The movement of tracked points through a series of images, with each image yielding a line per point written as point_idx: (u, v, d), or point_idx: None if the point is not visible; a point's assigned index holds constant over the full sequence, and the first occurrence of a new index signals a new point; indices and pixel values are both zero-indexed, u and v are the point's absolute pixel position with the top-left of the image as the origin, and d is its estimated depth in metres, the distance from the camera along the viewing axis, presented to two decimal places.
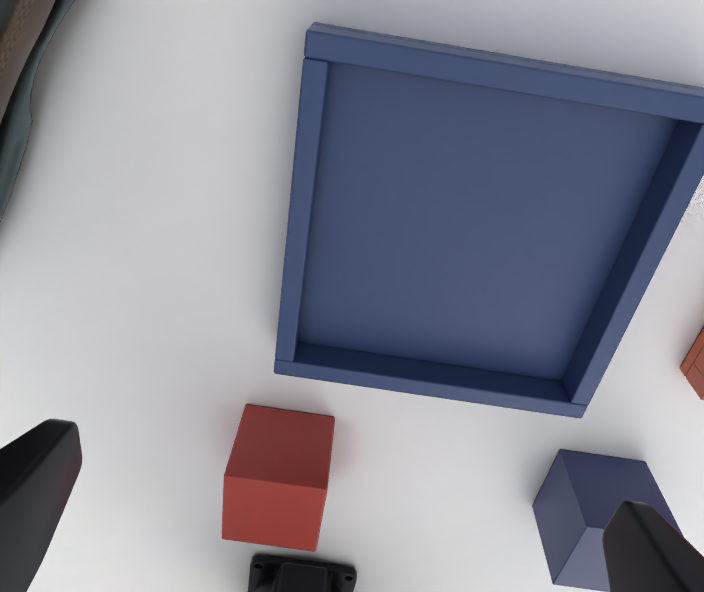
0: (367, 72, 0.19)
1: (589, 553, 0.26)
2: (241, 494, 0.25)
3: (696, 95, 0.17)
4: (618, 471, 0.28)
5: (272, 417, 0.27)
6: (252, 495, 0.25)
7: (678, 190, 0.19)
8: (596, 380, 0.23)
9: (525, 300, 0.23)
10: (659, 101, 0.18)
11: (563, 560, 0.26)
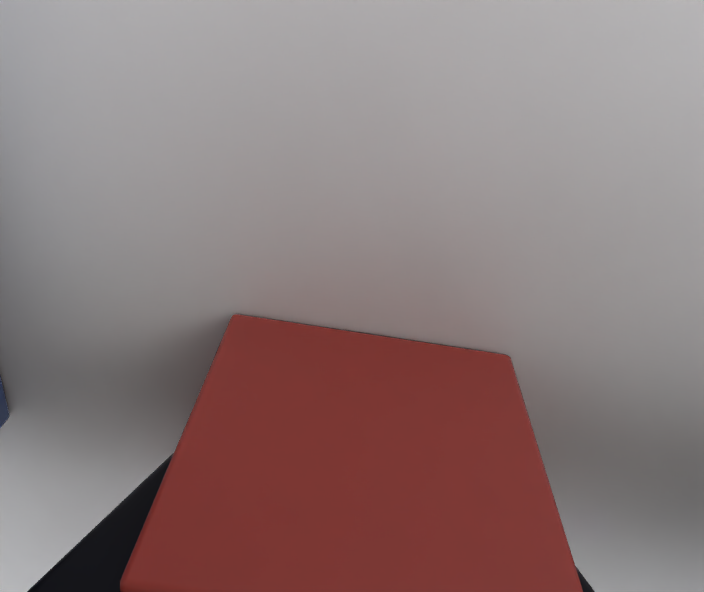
0: None
1: None
2: None
3: None
4: None
5: None
6: None
7: None
8: None
9: None
10: None
11: None
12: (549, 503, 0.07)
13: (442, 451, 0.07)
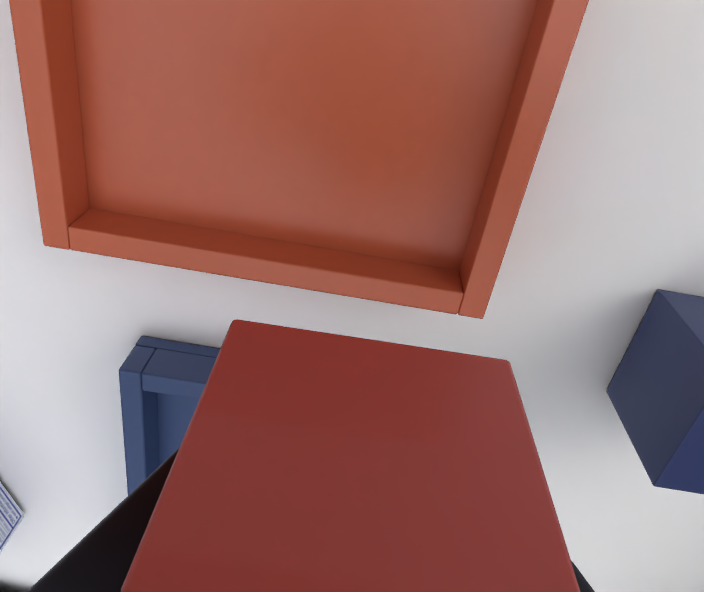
0: None
1: None
2: None
3: None
4: (645, 348, 0.19)
5: None
6: None
7: None
8: None
9: None
10: (131, 422, 0.21)
11: None
12: (548, 510, 0.07)
13: (441, 457, 0.07)
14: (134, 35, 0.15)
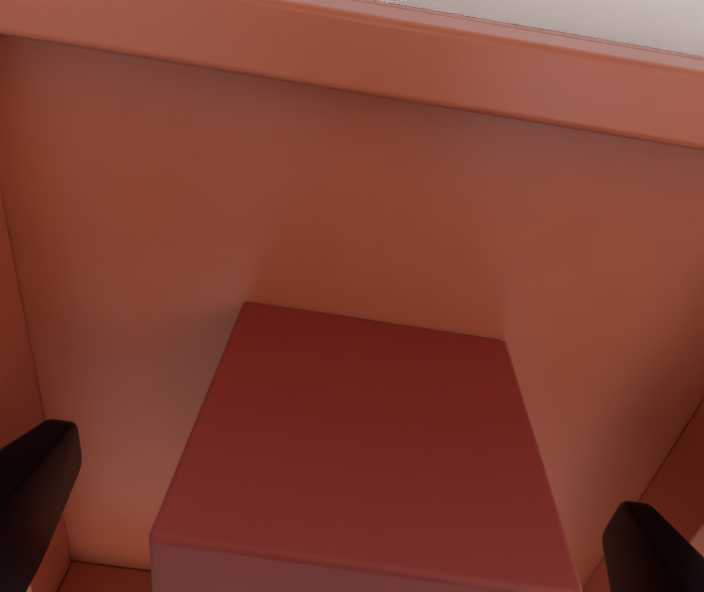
0: None
1: None
2: None
3: None
4: None
5: None
6: None
7: None
8: None
9: None
10: None
11: None
12: (540, 472, 0.07)
13: (440, 426, 0.08)
14: (127, 405, 0.11)
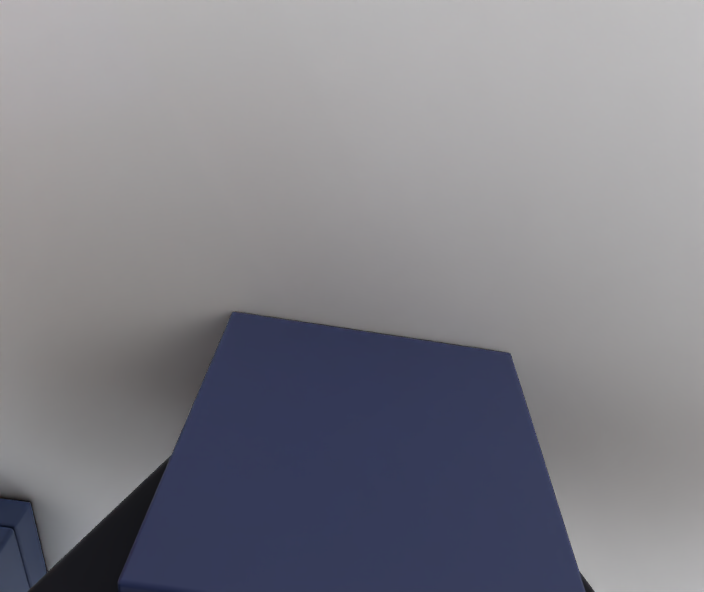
0: None
1: None
2: None
3: None
4: None
5: None
6: None
7: None
8: None
9: None
10: None
11: None
12: None
13: None
14: None
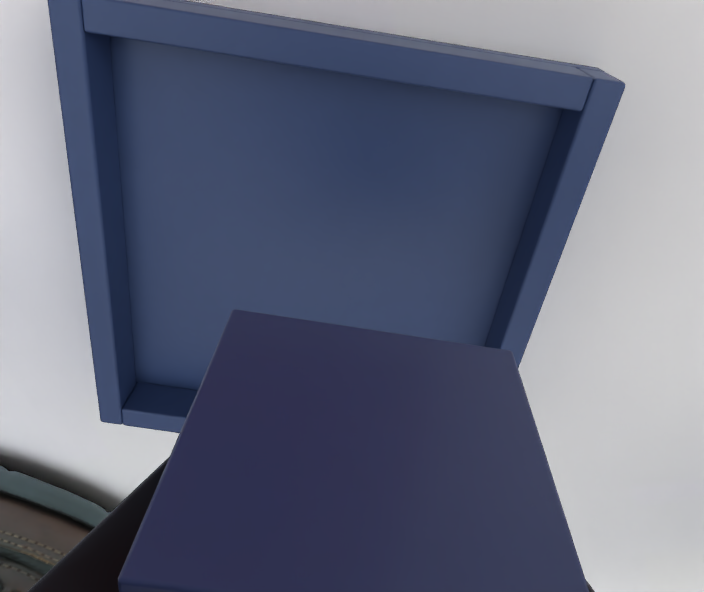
0: (145, 355, 0.20)
1: None
2: None
3: (54, 52, 0.14)
4: None
5: None
6: None
7: (177, 36, 0.13)
8: (532, 77, 0.13)
9: (401, 179, 0.16)
10: (72, 100, 0.14)
11: None
12: None
13: None
14: None
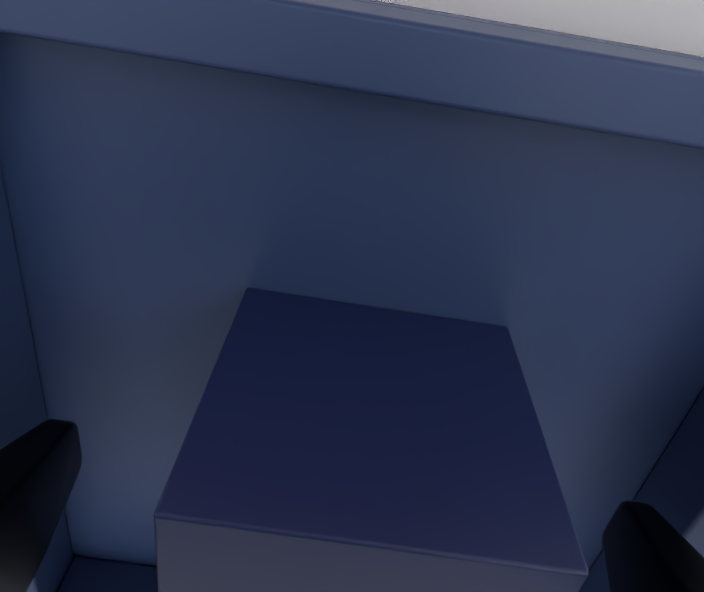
0: (84, 523, 0.13)
1: None
2: None
3: None
4: None
5: None
6: None
7: (91, 25, 0.06)
8: None
9: (516, 284, 0.09)
10: None
11: None
12: None
13: None
14: None
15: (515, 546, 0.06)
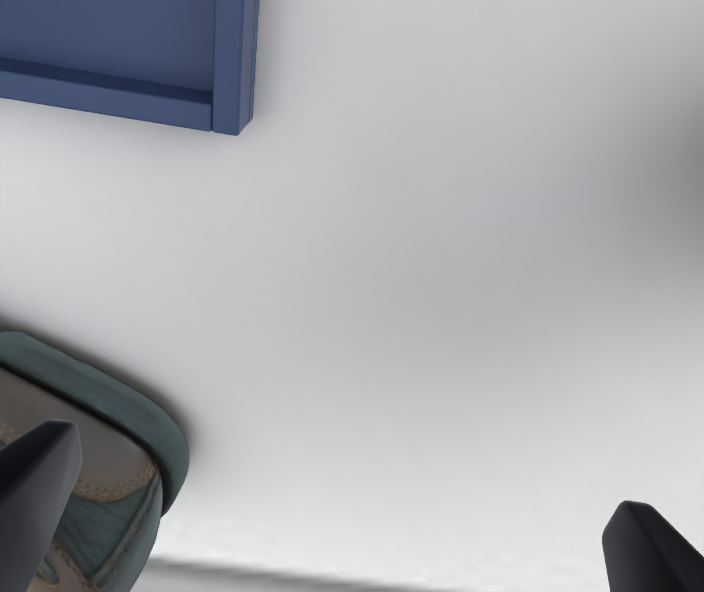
0: None
1: None
2: None
3: None
4: None
5: None
6: None
7: None
8: None
9: None
10: None
11: None
12: None
13: None
14: None
15: None
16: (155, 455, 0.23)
